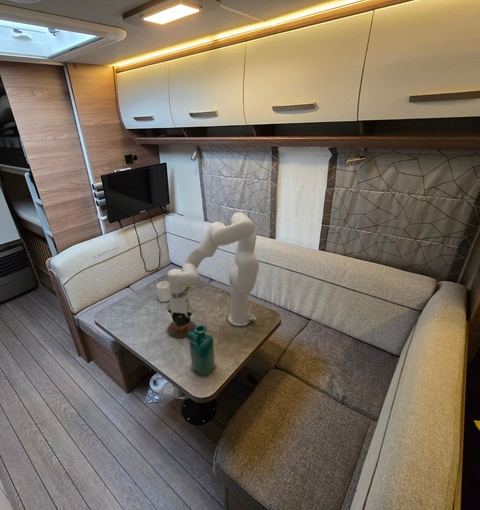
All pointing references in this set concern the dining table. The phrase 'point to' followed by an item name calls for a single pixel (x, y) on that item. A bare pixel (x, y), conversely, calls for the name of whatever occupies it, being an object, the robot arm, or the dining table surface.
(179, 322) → the tape roll
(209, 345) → the green bottle
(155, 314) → the dining table surface
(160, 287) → the mug
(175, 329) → the stand
